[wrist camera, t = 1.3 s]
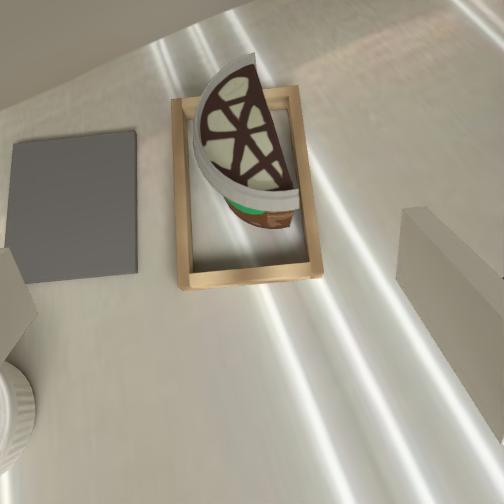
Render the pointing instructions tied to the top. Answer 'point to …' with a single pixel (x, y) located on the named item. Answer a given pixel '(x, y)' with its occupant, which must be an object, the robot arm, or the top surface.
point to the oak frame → (185, 271)
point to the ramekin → (14, 414)
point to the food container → (243, 147)
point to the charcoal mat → (74, 207)
